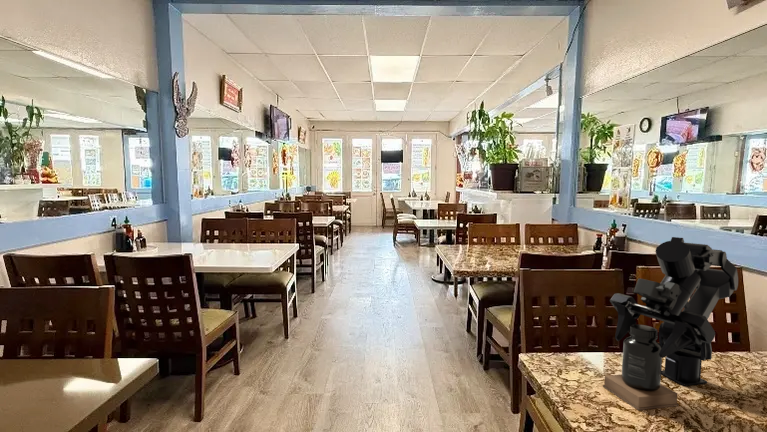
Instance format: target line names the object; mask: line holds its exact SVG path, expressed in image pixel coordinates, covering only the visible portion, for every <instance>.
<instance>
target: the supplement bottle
mask: <svg viewBox="0 0 767 432" xmlns="http://www.w3.org/2000/svg"><path fill="white" fill-rule="evenodd" d="M628 334H629V335H630V336H628V337H626V338H625V339H624V340H623V347H622V365H621V374H622V380H623V381H624V383H626V384H627V385H629V386H631V387H633V388H636V389H639V390H644V391H656V390H658V389H659V388H660V384H661V383H662V382H661V381H662V380H661V379H662V374H661V370H662V366H663V365H662V364H663V358H662V357H660V355H659V353H660V351H661V349H662V347H661V345H660V344H659V341H658V340H659V330H658V329H656V328H655V327H652V326H649V325H646V324H645V325H644V324H637V323H636V324H634V325H631V326H630V330H629V332H628Z"/></svg>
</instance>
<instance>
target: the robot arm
mask: <svg viewBox="0 0 767 432" xmlns="http://www.w3.org/2000/svg"><path fill="white" fill-rule="evenodd" d="M654 252H655V256H656V258H657V262H658V264H659V267H660V270H661V272H662V274H664V277H663V278H662V280H661V282H657V281H652V280H648V279H644V278H638V279H637V281H636V284H635V286H634V290H633V293H634V294H635V295H637V294H638V295H639V296H641V298H640V300H641V301H642V303H643V304H645V305H641V304H638V303H637V301H636V300H635V298H634V297H633V296H630V295H626V294H623V293H619V292H616V293H614V294H613V295H612V297H611V298H610V299H609V302H610V303H611V305H612V306H613V308H614V309H615V311H616V312H617V324H616V330H615V335H614V338H615V340H616V341H617V342H620V341H621V340H622V339H623V338H624V337H626V335H627V334H629V332H630V326H631V325H634V324H637V321H636V319H639V318H640V317H641V316H644V317H647V318H652V319H653V320H654V319H655V320H658V321H662V322H661V323H660V325H659V327H658V343H659V344H660V345H661V347H662V349H661V351H660V353H659V355H660V357H662V359H663V358H665V359H664V370H662V369H661V376H664V377H666V378H668V379H670V380H672V381H674V382H676V383H678V384H679V385H681V386H693V385H694V386H697V385H705V384H706V385H707V384H708V381H707V380H706V379H704V378H702V377H701V376H702V362H703V361H704V362H705V361H706V360H707V361H709V360H712V359H713V358H712V354H713V350H712V342H713V341H714V339H715V337H716V332H715V330H714V327H713V326H712V325H711V323H710V321H709V320H708V319H709V318H710V315H712V312H713V311H714V308H715V307H716V305H717V303H718V301H719V300H721V299H727V298H729V297H731V295H732V294H733V293H734V291H737V290H738V287H739V274H738V268H737V266H735V265H734V263H732V262H731V260H729V259H728V256H727V252H726V251H725V250H724V251H723V250H722V249H714V248H712V247H711V246H710V245H708V244H705V243H704V244H703V243H693V242H685V240H684V237H678V236H677V237H676V236H671V239H670V240H667V241H664V242H662V243H660V244H659V245H658V246H656V248H655V251H654ZM711 266H715V267H720V269H717V268H716V269H714V268H711Z"/></svg>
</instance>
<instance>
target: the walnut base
mask: <svg viewBox="0 0 767 432" xmlns="http://www.w3.org/2000/svg"><path fill="white" fill-rule="evenodd" d="M603 383H604V384H602V387H603V388H604V389H605V390H607V391H609V392H610V393H612V394H614V395H615V396H616V397H617V398H619V399H621V400H622V401H623V402H625V403H626V404H628V405H630V406H631V407H632V408H634V409H636V410H637V411H644V410H652V409H653V410H654V409H662V408H672V407H679V403H678V393H677V392H676V391H674V390H672V389H670V388H668V387H666V386H665V385H663V384H661V383H660V388H659V389H658V390H656V391H644V390H639V389H636V388H633V387H631V386H629V385H627V384H626V383H624V381H623V380H622V373H620V374H611V375H604V382H603Z"/></svg>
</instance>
